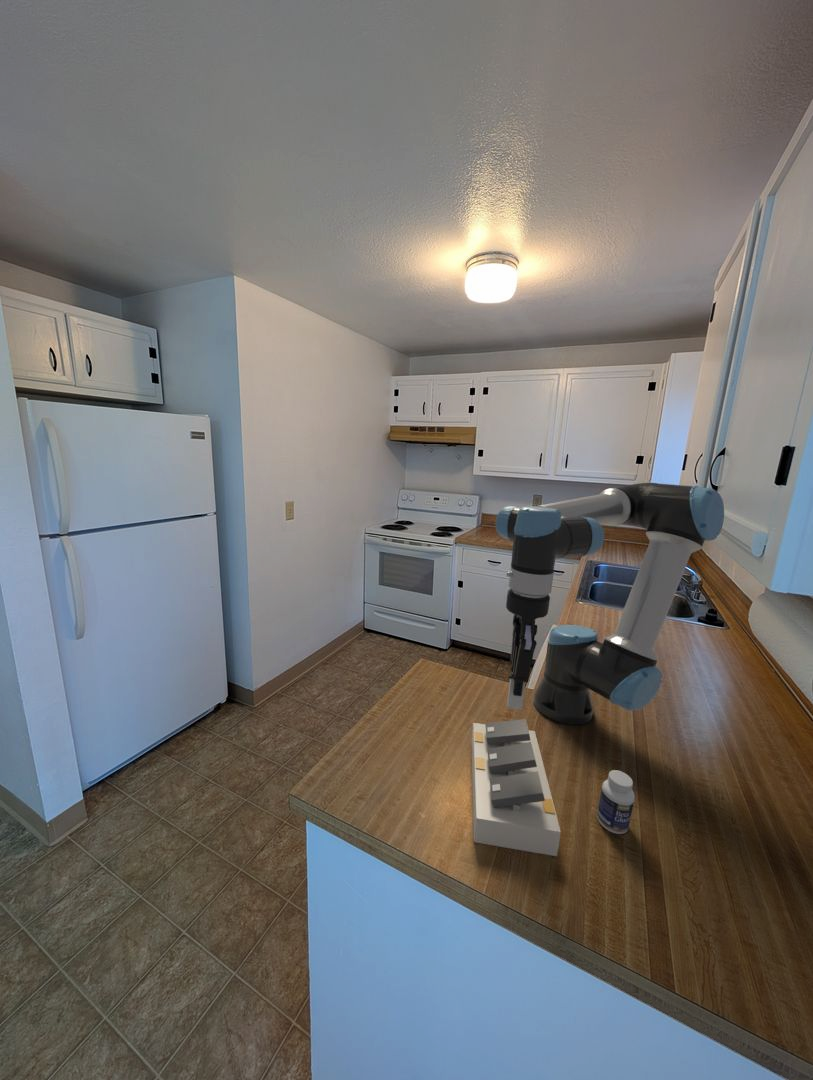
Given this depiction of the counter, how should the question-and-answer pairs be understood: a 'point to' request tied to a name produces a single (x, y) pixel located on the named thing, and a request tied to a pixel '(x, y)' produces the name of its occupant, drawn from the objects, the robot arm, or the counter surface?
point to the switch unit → (515, 823)
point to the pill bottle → (616, 802)
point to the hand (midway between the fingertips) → (514, 706)
